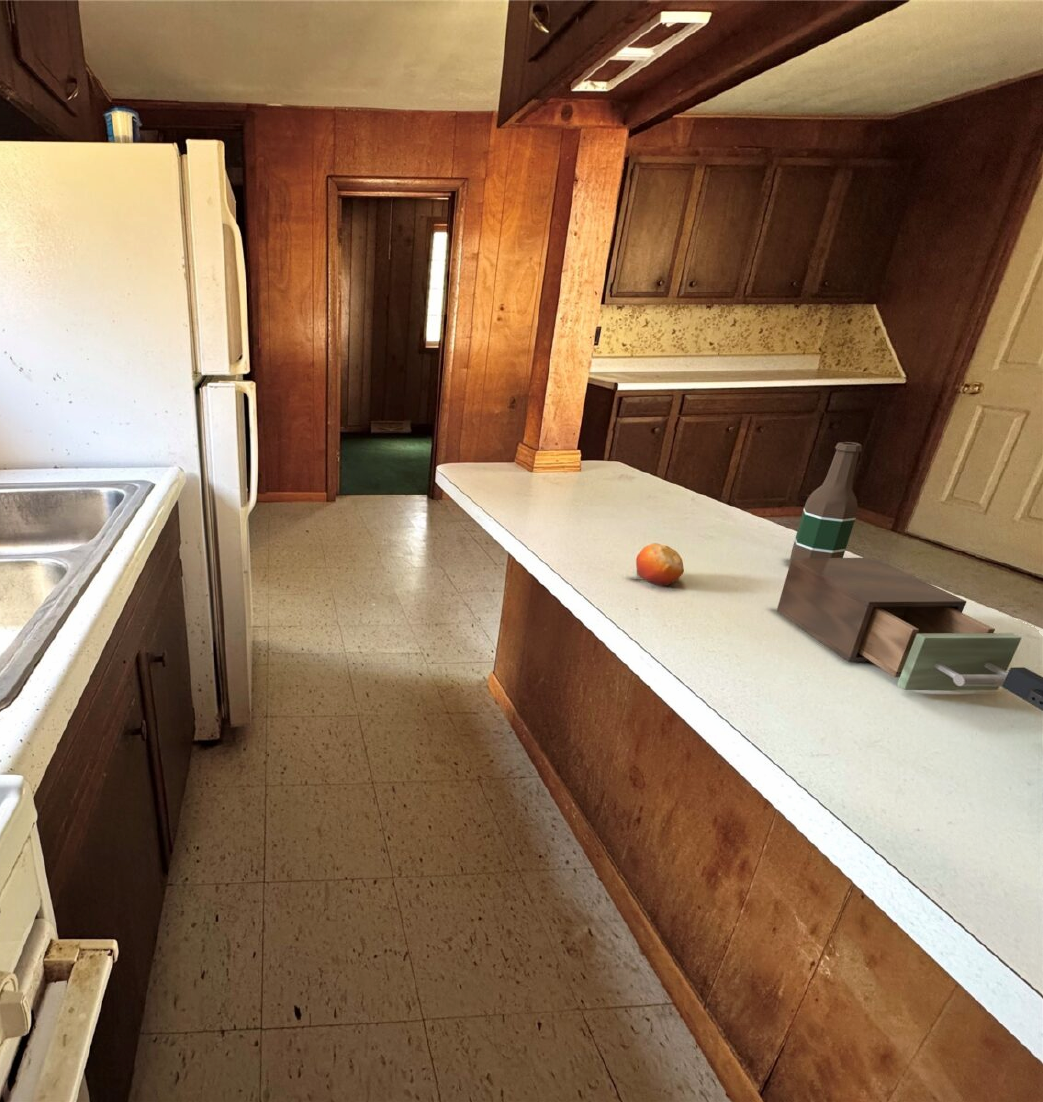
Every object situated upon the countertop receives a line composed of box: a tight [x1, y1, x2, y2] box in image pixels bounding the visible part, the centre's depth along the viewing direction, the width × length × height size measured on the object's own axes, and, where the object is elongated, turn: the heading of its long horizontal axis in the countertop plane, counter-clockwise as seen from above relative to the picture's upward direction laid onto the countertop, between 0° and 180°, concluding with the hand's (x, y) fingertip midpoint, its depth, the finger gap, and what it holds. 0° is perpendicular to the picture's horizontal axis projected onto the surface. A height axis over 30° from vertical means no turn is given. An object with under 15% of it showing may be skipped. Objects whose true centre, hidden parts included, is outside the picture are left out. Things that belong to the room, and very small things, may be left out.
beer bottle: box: [789, 441, 863, 561], centre depth 112 cm, size 8×8×24 cm
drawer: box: [858, 606, 1022, 691], centre depth 82 cm, size 19×11×8 cm, turn 177°
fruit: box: [633, 542, 685, 587], centre depth 112 cm, size 8×8×8 cm
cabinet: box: [776, 557, 967, 663], centre depth 92 cm, size 16×13×10 cm
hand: (1013, 677), depth 71 cm, fingers closed
